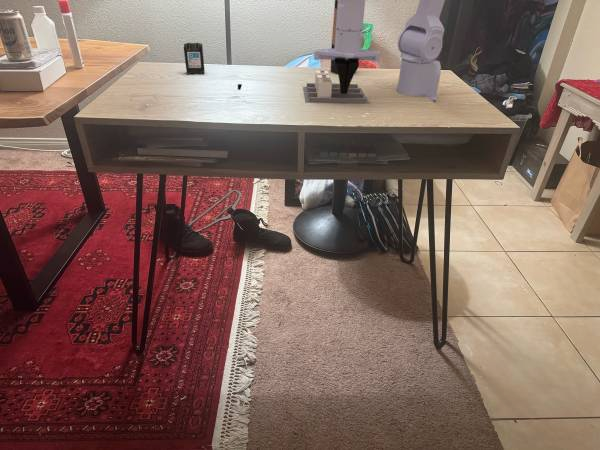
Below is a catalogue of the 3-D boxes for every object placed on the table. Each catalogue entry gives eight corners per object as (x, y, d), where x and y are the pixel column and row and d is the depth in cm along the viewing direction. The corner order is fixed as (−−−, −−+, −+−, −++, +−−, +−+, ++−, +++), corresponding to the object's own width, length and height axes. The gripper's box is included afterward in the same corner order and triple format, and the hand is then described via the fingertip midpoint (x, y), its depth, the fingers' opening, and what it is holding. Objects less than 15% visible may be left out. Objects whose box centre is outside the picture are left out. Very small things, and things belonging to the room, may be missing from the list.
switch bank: (360, 92, 111) (361, 83, 109) (369, 108, 100) (370, 99, 99) (302, 91, 110) (302, 82, 109) (305, 107, 99) (305, 98, 98)
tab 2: (329, 96, 102) (330, 76, 99) (330, 100, 99) (332, 79, 97) (316, 96, 102) (318, 76, 99) (317, 99, 99) (319, 79, 97)
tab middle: (328, 91, 105) (329, 72, 103) (329, 95, 103) (330, 75, 100) (315, 91, 105) (316, 72, 102) (316, 94, 103) (317, 75, 100)
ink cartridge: (186, 74, 120) (183, 44, 115) (187, 72, 122) (183, 42, 117) (204, 74, 121) (201, 44, 116) (204, 72, 122) (202, 42, 118)
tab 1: (326, 87, 108) (327, 68, 106) (327, 90, 106) (328, 71, 104) (314, 86, 108) (315, 68, 106) (315, 90, 106) (316, 70, 103)
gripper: (317, 31, 89) (313, 97, 96) (386, 33, 90) (377, 98, 97) (314, 26, 95) (311, 88, 102) (379, 27, 95) (371, 89, 103)
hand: (343, 92), depth 100 cm, fingers closed
